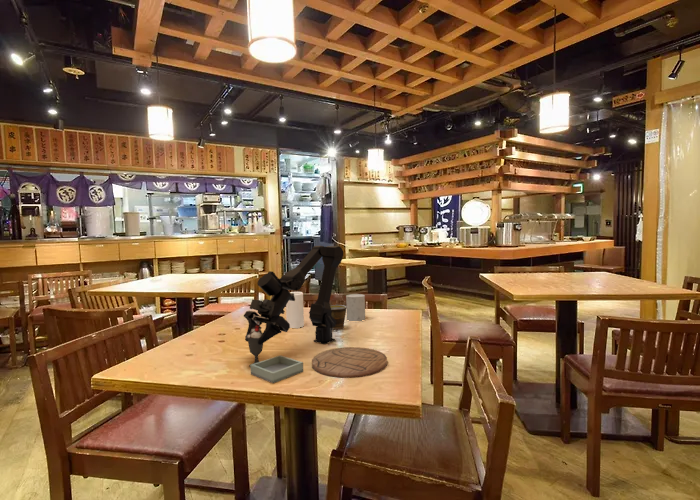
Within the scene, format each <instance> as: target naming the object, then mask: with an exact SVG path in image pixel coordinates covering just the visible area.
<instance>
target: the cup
mask: <svg viewBox="0 0 700 500" xmlns="http://www.w3.org/2000/svg"><path fill="white" fill-rule="evenodd" d="M289 292H290V291H289ZM290 293H294V297H295V301H290V300H289V301H288V303H287V304H286V306H285V317H286V319H285V320H286V321H287V322H288V323H289V324H290V328H296V329H301V328H300V327H302V328H304V327H305V315H304V314H305V313H304V312H305V311H304V293H303V292H302V291H291V292H290ZM303 326H304V327H303ZM290 328H289V329H290Z"/></svg>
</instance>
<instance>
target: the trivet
mask: <svg viewBox="0 0 700 500" xmlns="http://www.w3.org/2000/svg"><path fill="white" fill-rule="evenodd" d="M387 365H388V357H387V356H386V354H385V353H384V352H381V351H379V350H377V349H373V348H369V347H360V346H354V347H353V346H347V347H337V348H331V349H327V350H324V351H321V352H319V353H317V354H316V355H314V356H313V357H312V359H311V368H312V369H313V370H314V372H316V373H318V374H320V375H323V376H326V377H330V378H331V377H332V378H338V379H349V378H350V379H353V378H362V377H368V376H372V375H375V374H377V373H380V372H382V371H383V370H384V369H385V368H386V367H387Z"/></svg>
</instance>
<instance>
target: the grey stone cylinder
mask: <svg viewBox="0 0 700 500" xmlns="http://www.w3.org/2000/svg"><path fill="white" fill-rule="evenodd" d="M345 298H346V299H345V300H346V301H345V302H346V305H345V306H346V321H347V320H349V321H362V320H365V319H366V300H365V299H366V295H365V294H361V293H352V294H350V293H349V294H347V295H345ZM349 321H348V322H349ZM365 321H366V320H365ZM362 322H363V321H362Z"/></svg>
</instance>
